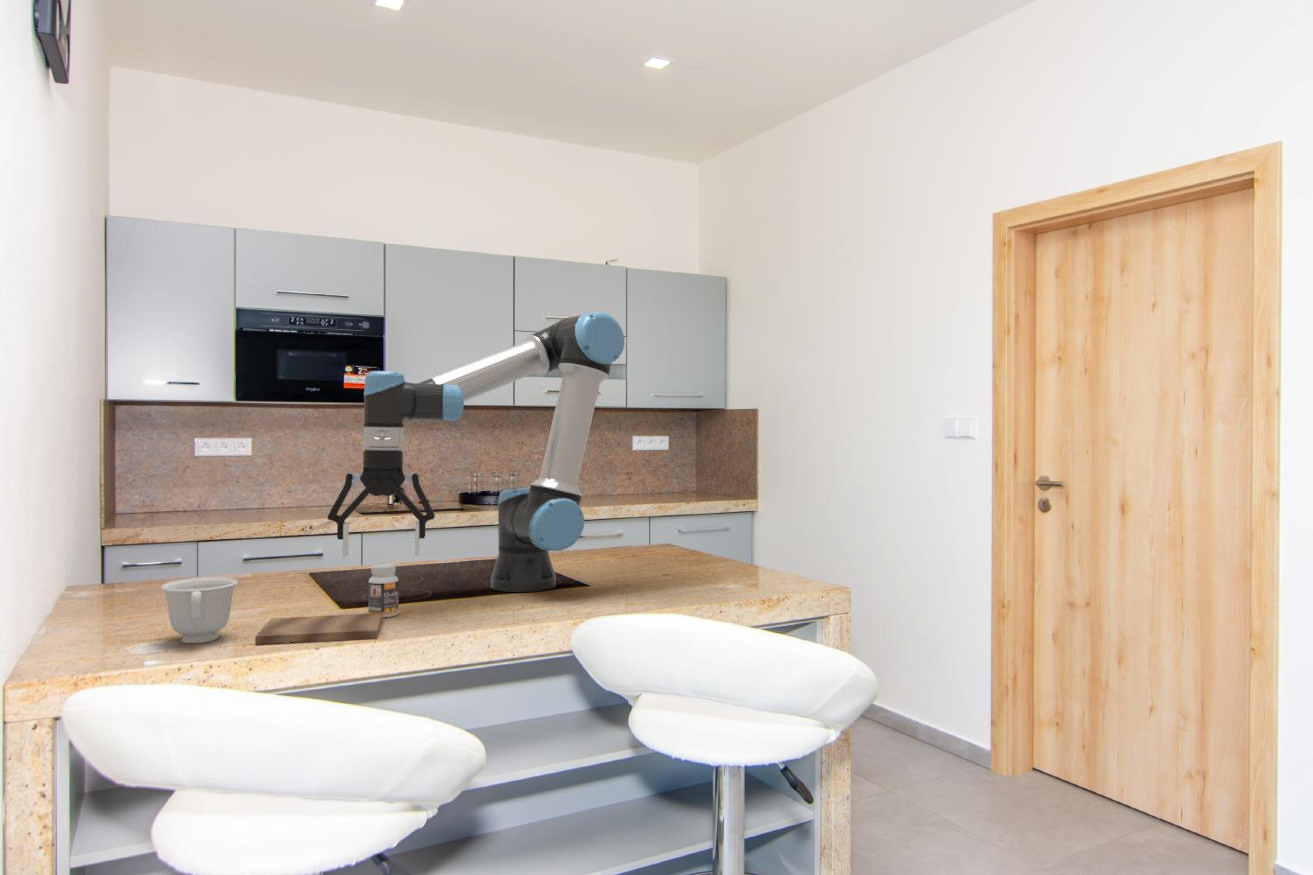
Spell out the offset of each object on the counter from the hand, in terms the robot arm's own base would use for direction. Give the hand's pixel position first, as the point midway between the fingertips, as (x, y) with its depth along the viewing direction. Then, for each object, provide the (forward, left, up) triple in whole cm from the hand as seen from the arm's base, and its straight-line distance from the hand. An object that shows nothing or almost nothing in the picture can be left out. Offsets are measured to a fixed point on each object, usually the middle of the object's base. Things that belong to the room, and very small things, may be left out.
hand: (381, 555), depth 171 cm
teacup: (+30, +14, -12) cm, 35 cm away
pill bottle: (0, 0, -12) cm, 12 cm away
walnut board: (+10, +12, -12) cm, 19 cm away
